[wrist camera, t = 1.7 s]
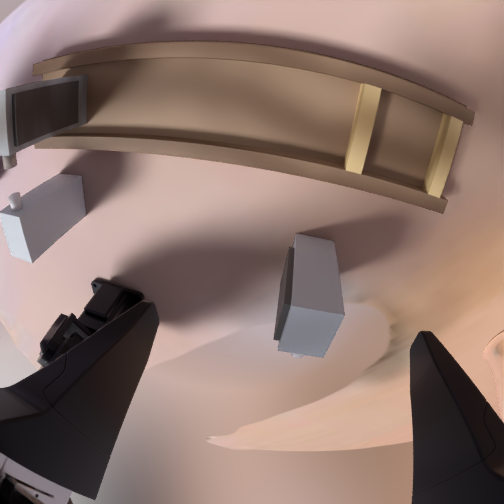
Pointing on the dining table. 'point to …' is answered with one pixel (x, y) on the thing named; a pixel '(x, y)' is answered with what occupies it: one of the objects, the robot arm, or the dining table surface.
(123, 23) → the dining table surface
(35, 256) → the box with small knob
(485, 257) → the dining table surface
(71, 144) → the rail
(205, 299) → the dining table surface
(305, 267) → the grey boxy piece
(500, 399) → the beer glass
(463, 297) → the dining table surface
